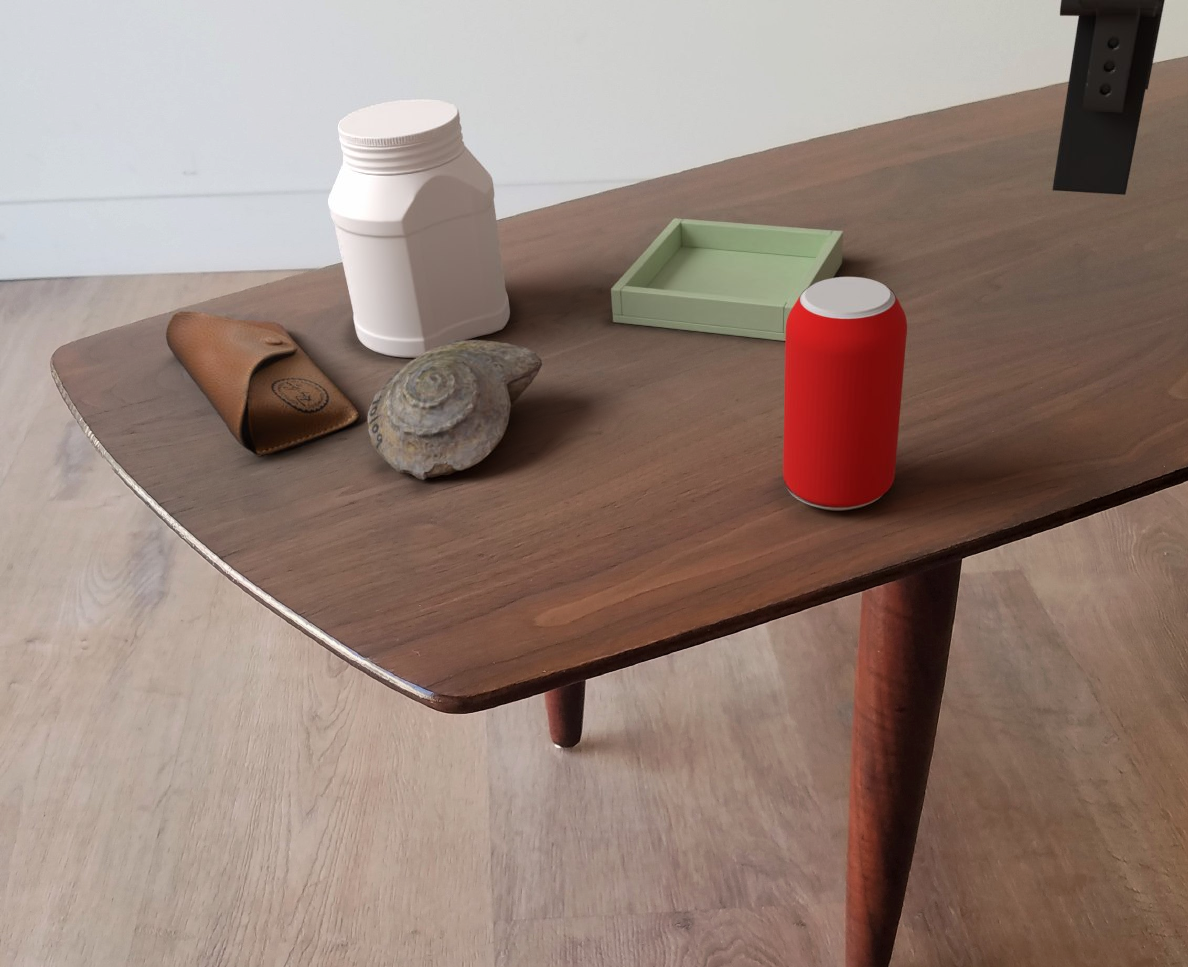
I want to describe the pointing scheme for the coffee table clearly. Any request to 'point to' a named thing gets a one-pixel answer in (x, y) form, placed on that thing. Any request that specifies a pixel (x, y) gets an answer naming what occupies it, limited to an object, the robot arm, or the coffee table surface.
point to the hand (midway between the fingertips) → (1104, 134)
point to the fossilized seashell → (449, 406)
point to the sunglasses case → (258, 381)
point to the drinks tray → (725, 277)
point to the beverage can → (843, 392)
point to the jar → (416, 229)
